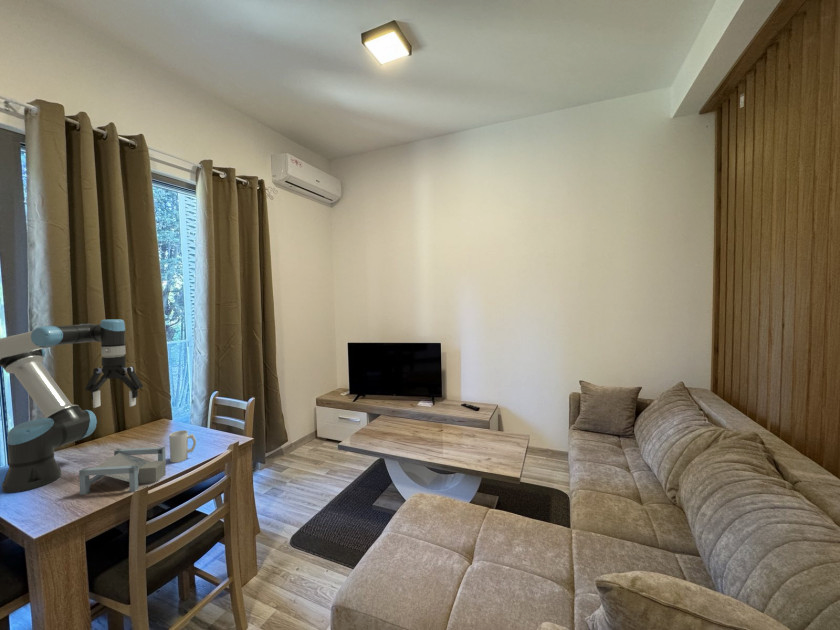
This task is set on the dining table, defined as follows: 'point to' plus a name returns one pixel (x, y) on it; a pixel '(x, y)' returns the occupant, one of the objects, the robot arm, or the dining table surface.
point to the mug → (180, 445)
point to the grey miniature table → (118, 469)
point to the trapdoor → (122, 464)
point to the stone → (152, 472)
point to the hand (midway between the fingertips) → (115, 406)
